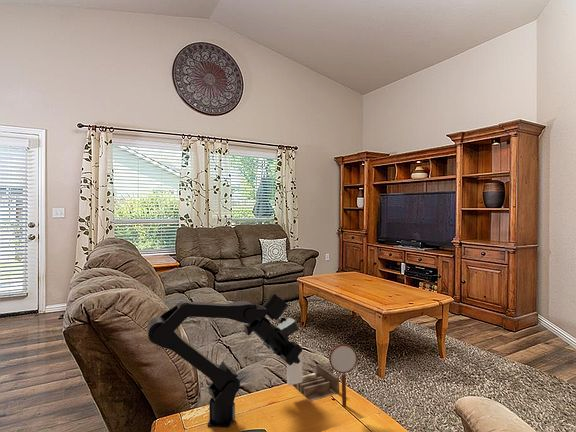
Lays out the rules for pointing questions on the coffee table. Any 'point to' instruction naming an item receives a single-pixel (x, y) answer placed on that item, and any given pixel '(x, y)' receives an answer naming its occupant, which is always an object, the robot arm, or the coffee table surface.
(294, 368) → the white flat board
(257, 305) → the robot arm
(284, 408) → the coffee table surface
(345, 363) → the magnifying glass
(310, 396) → the offcut rack
